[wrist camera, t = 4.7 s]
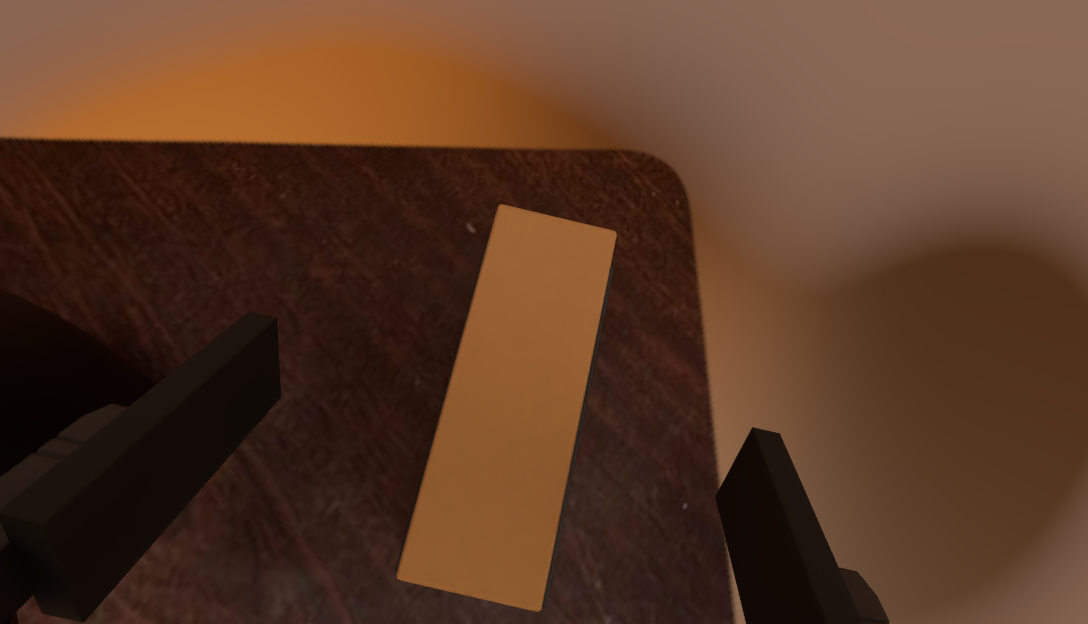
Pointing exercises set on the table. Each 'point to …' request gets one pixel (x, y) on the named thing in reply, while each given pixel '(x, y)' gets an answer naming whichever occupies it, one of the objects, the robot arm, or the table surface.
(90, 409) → the mug
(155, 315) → the table surface
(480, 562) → the eraser
